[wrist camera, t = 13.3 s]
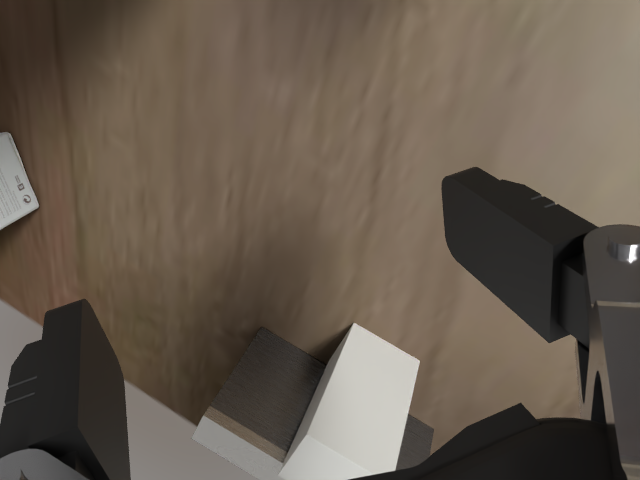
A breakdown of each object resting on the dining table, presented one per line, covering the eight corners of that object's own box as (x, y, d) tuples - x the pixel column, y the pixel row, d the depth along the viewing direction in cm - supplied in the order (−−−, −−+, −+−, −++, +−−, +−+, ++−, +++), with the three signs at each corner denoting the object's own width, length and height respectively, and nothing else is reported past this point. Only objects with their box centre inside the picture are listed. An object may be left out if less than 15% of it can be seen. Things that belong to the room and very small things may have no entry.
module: (328, 360, 39) (278, 475, 31) (354, 322, 37) (306, 434, 29) (391, 397, 39) (357, 522, 31) (420, 360, 37) (391, 484, 28)
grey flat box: (249, 348, 41) (191, 438, 33) (261, 326, 40) (203, 415, 32) (416, 448, 40) (394, 561, 33) (433, 429, 39) (415, 543, 32)
